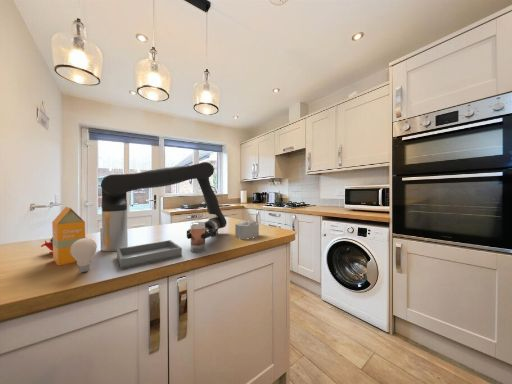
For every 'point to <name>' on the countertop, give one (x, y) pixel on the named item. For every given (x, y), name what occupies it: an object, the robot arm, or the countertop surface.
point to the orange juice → (66, 235)
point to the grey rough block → (246, 229)
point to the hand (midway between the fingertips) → (195, 236)
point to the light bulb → (83, 253)
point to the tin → (197, 237)
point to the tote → (147, 254)
